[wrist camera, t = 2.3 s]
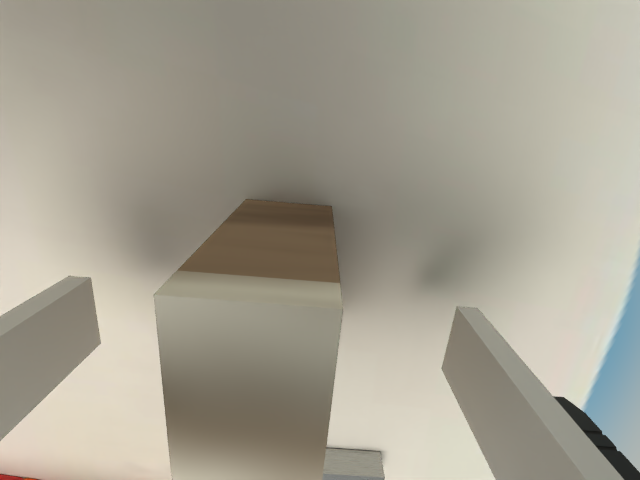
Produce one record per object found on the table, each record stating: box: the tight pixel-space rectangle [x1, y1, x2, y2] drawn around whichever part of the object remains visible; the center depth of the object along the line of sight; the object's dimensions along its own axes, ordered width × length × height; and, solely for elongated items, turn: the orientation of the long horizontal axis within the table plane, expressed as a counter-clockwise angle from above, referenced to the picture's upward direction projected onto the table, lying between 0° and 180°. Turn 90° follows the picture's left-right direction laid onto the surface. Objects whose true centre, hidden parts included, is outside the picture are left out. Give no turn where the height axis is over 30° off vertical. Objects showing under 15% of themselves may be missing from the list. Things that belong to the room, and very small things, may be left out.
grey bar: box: [322, 448, 385, 480], centre depth 20 cm, size 1×11×2 cm, turn 86°
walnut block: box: [154, 199, 343, 480], centre depth 12 cm, size 6×4×9 cm, turn 175°
